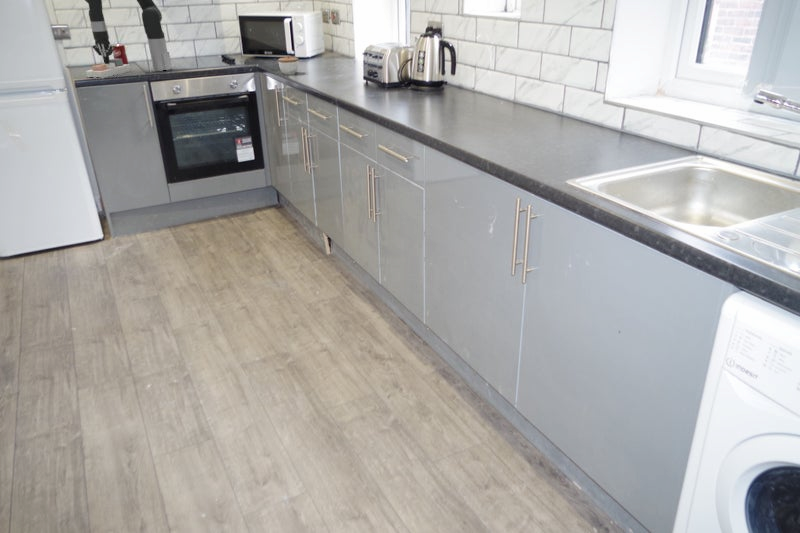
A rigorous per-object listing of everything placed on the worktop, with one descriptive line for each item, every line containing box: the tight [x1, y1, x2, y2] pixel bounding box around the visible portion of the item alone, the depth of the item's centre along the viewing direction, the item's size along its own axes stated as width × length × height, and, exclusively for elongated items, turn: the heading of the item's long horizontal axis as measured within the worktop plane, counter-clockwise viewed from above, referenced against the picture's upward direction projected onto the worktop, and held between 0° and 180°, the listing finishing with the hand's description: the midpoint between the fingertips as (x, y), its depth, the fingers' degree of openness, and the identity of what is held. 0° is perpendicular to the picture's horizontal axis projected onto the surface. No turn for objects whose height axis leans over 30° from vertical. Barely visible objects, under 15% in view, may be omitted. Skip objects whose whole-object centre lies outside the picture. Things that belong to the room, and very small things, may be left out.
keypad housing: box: [85, 64, 132, 78], centre depth 334 cm, size 10×24×4 cm, turn 166°
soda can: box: [111, 44, 130, 65], centre depth 358 cm, size 7×7×12 cm
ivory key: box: [100, 63, 115, 69], centre depth 333 cm, size 5×5×4 cm
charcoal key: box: [109, 58, 123, 67], centre depth 339 cm, size 5×5×4 cm
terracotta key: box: [91, 64, 107, 71], centre depth 327 cm, size 5×5×4 cm
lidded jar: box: [277, 55, 299, 76], centre depth 323 cm, size 11×11×9 cm
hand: (107, 63), depth 332 cm, fingers closed
